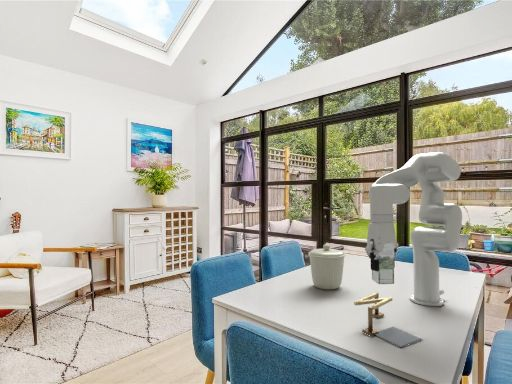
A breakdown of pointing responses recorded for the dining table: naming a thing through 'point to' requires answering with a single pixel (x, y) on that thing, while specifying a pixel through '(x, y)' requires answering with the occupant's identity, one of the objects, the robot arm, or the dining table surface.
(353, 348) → the dining table surface
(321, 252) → the canister
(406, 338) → the slate mat
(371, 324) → the accordion peg rack
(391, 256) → the syrup box
